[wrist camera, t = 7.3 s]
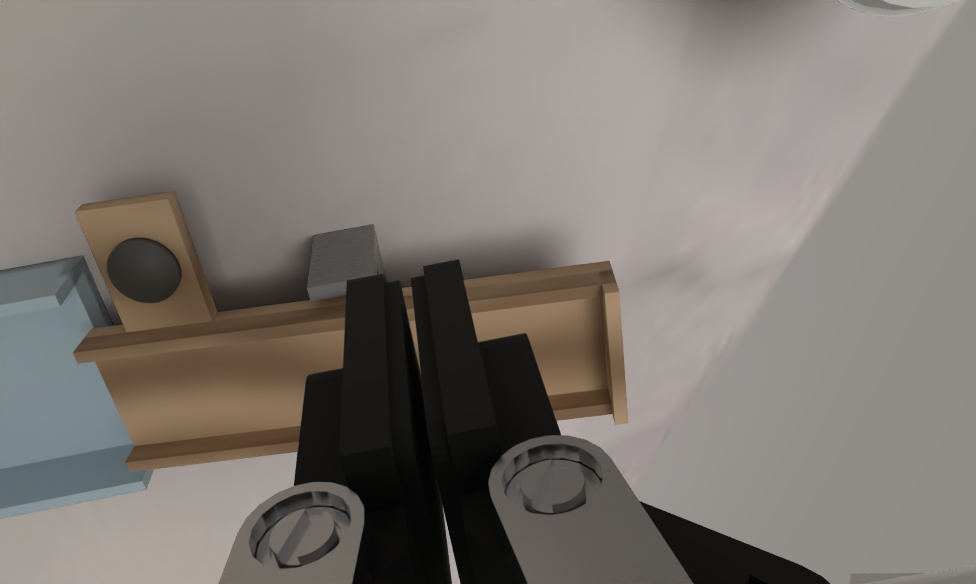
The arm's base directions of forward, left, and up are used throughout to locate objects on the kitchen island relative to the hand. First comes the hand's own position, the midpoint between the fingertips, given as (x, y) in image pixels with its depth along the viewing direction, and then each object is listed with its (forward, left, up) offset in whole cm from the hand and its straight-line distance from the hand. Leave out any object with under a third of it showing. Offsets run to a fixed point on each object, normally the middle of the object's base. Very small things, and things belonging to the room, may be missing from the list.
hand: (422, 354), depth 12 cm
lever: (+11, -4, -23) cm, 26 cm away
